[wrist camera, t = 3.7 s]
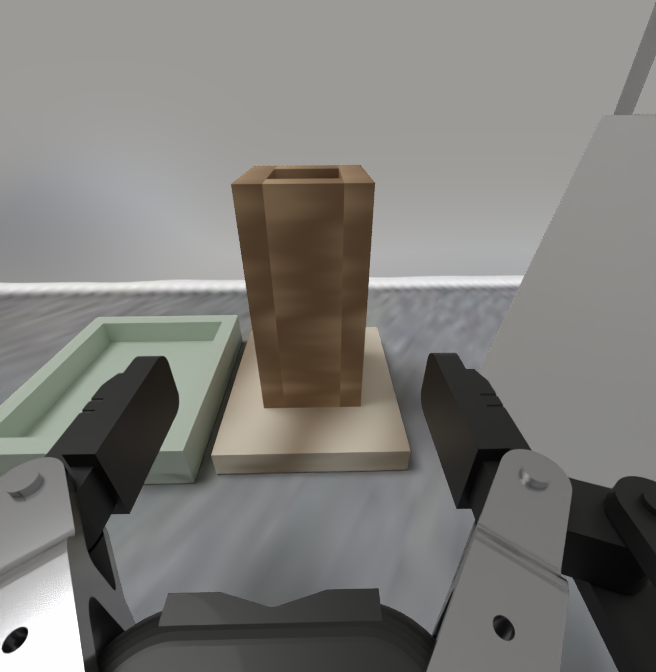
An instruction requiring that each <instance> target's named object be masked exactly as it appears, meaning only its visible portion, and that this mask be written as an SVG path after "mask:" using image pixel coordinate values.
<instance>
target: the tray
mask: <svg viewBox="0 0 656 672" xmlns="http://www.w3.org/2000/svg"><path fill="white" fill-rule="evenodd" d="M241 344H242V336H241V330H240V324H239V318H238V315H211V316H142V317H97V318H96V319H95V320H94V321H92V322H91V323H90V324H89V325H88V326H87V327H86V328H85V329H84V330H83V331H81V332H80V333H79V334H78V335H77V336H76V337H75V338H74V339H73V340H72V341H70V342H69V343H68V344H67V345H66V346H65V347H64V348H63V349H62V350H61V351H59V352H58V353H57V354H56V355H55V356H54V357H53V358H52V359H51V360H50V361H49V362H47V363H46V364H45V365H44V366H43V367H42V368H41V369H40V370H39V371H38V372H36V373H35V374H34V375H33V376H32V377H31V378H30V379H29V380H28V381H27V382H25V383H24V384H23V385H22V386H21V387H20V388H19V389H18V390H17V391H16V392H14V393H13V394H12V395H11V396H10V397H9V398H8V399H7V400H6V401H5V402H3V403H2V404H1V405H0V478H1V477H2V476H3V475H4V474H6V473H7V472H8V471H10V470H11V469H13V468H15V467H17V466H19V465H21V464H23V463H25V462H28V461H30V460H34V459H37V458H43V457H45V455H46V454H47V453H48V452H49V450H50V449H51V448H52V447H53V445H54V444H55V443H56V442H57V440H58V439H59V438H60V437H61V435H62V434H63V433H64V432H65V430H66V429H67V428H68V427H69V425H70V424H71V423H72V422H73V420H74V419H75V418H76V417H77V415H78V414H79V413H82V409H83V408H84V407H85V405H86V404H87V403H88V402H89V401H91V398H92V397H93V395H94V394H95V393H96V392H97V390H98V389H99V388H100V387H101V385H103V384H104V383H105V382H107V381H108V380H110V379H111V378H112V377H114V376H115V375H116V374H118V373H123V372H124V371H125V370H126V369H127V367H128V366H129V365H130V363H131V362H132V361H133V359H134V358H135V357H137V356H165V357H166V358H167V360H168V362H169V365H170V368H171V371H172V375H173V378H174V381H175V384H176V387H177V390H178V393H179V409H178V412H177V415H176V417H175V419H174V421H173V423H172V425H171V428H170V430H169V432H168V434H167V436H166V438H165V440H164V442H163V444H162V446H161V449H160V451H159V453H158V455H157V457H156V459H155V461H154V463H153V465H152V467H151V470H150V472H149V474H148V476H147V478H146V480H145V482H144V484H174V483H195V480H196V477H197V474H198V471H199V468H200V465H201V462H202V459H203V456H204V453H205V450H206V447H207V444H208V441H209V438H210V435H211V432H212V430H213V427H214V424H215V421H216V418H217V415H218V412H219V409H220V406H221V403H222V400H223V397H224V394H225V391H226V388H227V385H228V382H229V379H230V377H231V374H232V371H233V368H234V365H235V362H236V359H237V356H238V353H239V350H240V347H241Z"/></svg>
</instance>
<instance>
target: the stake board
mask: <svg viewBox="0 0 656 672" xmlns="http://www.w3.org/2000/svg"><path fill="white" fill-rule="evenodd" d="M410 452H411V451H410V447H409V443H408V440H407V436H406V432H405V429H404V425H403V421H402V417H401V414H400V410H399V406H398V403H397V399H396V395H395V392H394V388H393V384H392V381H391V377H390V373H389V370H388V366H387V362H386V359H385V355H384V351H383V347H382V344H381V340H380V336H379V333H378V329H377V327H366V330H365V346H364V361H363V377H362V392H361V407H309V408H264V405H263V398H262V392H261V385H260V378H259V371H258V364H257V357H256V351H255V344H254V337H253V330H252V329H251V331H250V334H249V338H248V341H247V344H246V347H245V350H244V353H243V356H242V360H241V363H240V366H239V369H238V372H237V375H236V378H235V382H234V385H233V388H232V391H231V394H230V397H229V400H228V404H227V407H226V410H225V413H224V416H223V419H222V422H221V426H220V429H219V432H218V435H217V438H216V441H215V444H214V448H213V451H212V454H211V457H212V460H213V464H214V467H215V471H216V474H239V473H286V472H332V471H378V470H407V468H408V462H409V457H410Z"/></svg>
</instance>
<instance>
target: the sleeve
mask: <svg viewBox="0 0 656 672" xmlns="http://www.w3.org/2000/svg"><path fill="white" fill-rule="evenodd" d="M231 186H232V193H233V200H234V207H235V214H236V221H237V228H238V234H239V241H240V248H241V255H242V262H243V269H244V275H245V282H246V289H247V296H248V303H249V310H250V316H251V323H252V330H253V337H254V344H255V351H256V357H257V364H258V371H259V378H260V385H261V392H262V398H263V405H264V408H309V407H361V392H362V377H363V361H364V346H365V330H366V315H367V299H368V284H369V268H370V252H371V236H372V220H373V206H374V190H375V183H374V181H373V180H372V179H371V177H370V176H369V175H368V174H367V173H366V171H365V170H364V169H363V168H362V167H361V165H333V166H332V165H331V166H330V165H329V166H254V167H252V168H251V169H250V170H249V171H247V172H246V173H245V174H243V175H242V176H241V177H240V178H238V179H237V180H236V181H235V182H233V183H232V184H231Z"/></svg>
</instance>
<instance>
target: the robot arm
mask: <svg viewBox="0 0 656 672" xmlns="http://www.w3.org/2000/svg"><path fill="white" fill-rule="evenodd" d="M421 404H422V409H423V413H424V416H425V419H426V421H427V424H428V427H429V430H430V433H431V436H432V439H433V442H434V445H435V448H436V450H437V453H438V456H439V459H440V462H441V465H442V468H443V471H444V474H445V477H446V480H447V482H448V485H449V488H450V491H451V494H452V497H453V500H454V503H455V506H456V509H472V512H473V514H474V517H475V522H474V524H473V527H472V530H471V532H470V535H469V538H468V540H467V543H466V546H465V548H464V551H463V554H462V556H461V559H460V562H459V565H458V567H457V570H456V573H455V575H454V578H453V581H452V583H451V586H450V589H449V591H448V594H447V596H446V599H445V601H444V604H443V606H442V609H441V611H440V614H439V617H438V619H437V622H436V624H435V627H434V630H433V632H432V635H431V634H430V633H429V632H428V631H427V630H425V629H424V628H423V627H422V626H420V625H419V624H418V623H417V622H415V621H414V620H413V619H411V618H409V617H408V616H406V615H405V614H403V613H401V612H399V611H397V610H395V609H393V608H390V607H388V606H385V605H382V604H380V597H379V589H378V588H376V589H333V590H325V591H322V592H319V593H316V594H313V595H310V596H307V597H304V598H301V599H298V600H295V601H292V602H289V603H286V604H283V605H280V606H277V607H267V606H263V605H260V604H257V603H254V602H251V601H247V600H244V599H241V598H238V597H234V596H231V595H228V594H225V593H221V592H204V593H168V596H167V599H166V602H165V605H164V608H163V611H161V612H158V613H156V614H154V615H152V616H150V617H148V618H145V619H143V620H142V621H140V622H138V623H137V624H135V621H134V619H133V616H132V614H131V612H130V610H129V607H128V605H127V603H126V600H125V598H124V594H123V591H122V587H121V583H120V579H119V575H118V571H117V566H116V562H115V558H114V554H113V550H112V546H111V542H110V538H109V534H108V531H107V529H106V527H105V525H106V523H107V521H108V519H109V517H110V515H111V514H130V512H131V510H132V507H133V505H134V503H135V501H136V499H137V497H138V495H139V493H140V491H141V489H142V486H143V484H144V482H145V480H146V478H147V476H148V474H149V472H150V470H151V467H152V465H153V463H154V461H155V459H156V457H157V455H158V453H159V451H160V449H161V446H162V444H163V442H164V440H165V438H166V436H167V434H168V432H169V430H170V428H171V425H172V423H173V421H174V419H175V417H176V415H177V412H178V409H179V393H178V390H177V387H176V384H175V381H174V378H173V375H172V371H171V368H170V365H169V362H168V360H167V358H166V357H165V356H137V357H135V358H134V359H133V361H132V362H131V363H130V365H129V366H128V367H127V369H126V370H125V371H124V372H123V373H118V374H116V375H115V376H114V377H112V378H111V379H110V380H108V381H107V382H105V383H104V384H103V385H101V387H100V388H99V389H98V390H97V392H96V393H95V394H94V395H93V397H92V398H91V401H89V402H88V403H87V404H86V405H85V407H84V408H83V409H82V413H79V414H78V415H77V417H76V418H75V419H74V420H73V422H72V423H71V424H70V425H69V427H68V428H67V429H66V430H65V432H64V433H63V434H62V435H61V437H60V438H59V439H58V440H57V442H56V443H55V444H54V445H53V447H52V448H51V449H50V450H49V452H48V453H47V454H46V455H45V457H43V458H37V459H34V460H30V461H28V462H25V463H23V464H21V465H19V466H17V467H15V468H13V469H11V470H10V471H8V472H7V473H6V474H4V475H3V476H2V477H1V478H0V672H560V667H561V658H562V650H563V642H564V633H565V625H566V617H567V608H568V599H569V585H568V582H567V580H566V579H564V578H563V577H561V574H563V575H566V576H569V577H572V578H573V579H574V581H575V583H576V585H577V587H578V589H579V591H580V594H581V596H582V598H583V600H584V602H585V604H586V606H587V608H588V610H589V612H590V614H591V616H592V618H593V620H594V622H595V624H596V626H597V628H598V630H599V632H600V634H601V636H602V638H603V641H604V643H605V645H606V647H607V649H608V651H609V653H610V655H611V657H612V659H613V661H614V663H615V665H616V667H617V669H618V671H619V672H656V482H655V481H653V480H650V479H647V478H643V477H638V476H626V477H623V478H621V479H619V480H618V481H617V482H616V484H615V485H614V486H613V488H608V487H604V486H600V485H596V484H592V483H588V482H584V481H580V480H576V479H573V478H570V477H568V476H567V475H566V473H565V472H564V471H563V470H562V468H561V467H560V466H558V465H557V464H556V463H555V462H554V461H552V460H551V459H549V458H548V457H546V456H544V455H542V454H540V453H537V452H535V451H532V450H531V448H530V447H529V445H528V443H527V442H526V440H525V439H524V437H523V435H522V434H521V432H520V431H519V429H518V427H517V426H516V424H515V423H514V421H513V419H512V418H511V416H510V415H509V413H508V411H507V410H506V408H505V407H503V403H502V402H501V400H500V399H499V397H498V396H496V392H495V391H494V389H493V388H492V386H491V384H490V383H489V381H488V380H487V379H486V378H484V377H483V376H482V375H481V374H479V373H478V372H477V371H476V370H475V369H466V368H465V367H464V365H463V363H462V361H461V360H460V358H459V356H458V355H457V354H456V353H430V354H429V356H428V360H427V365H426V370H425V375H424V380H423V385H422V390H421Z"/></svg>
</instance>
